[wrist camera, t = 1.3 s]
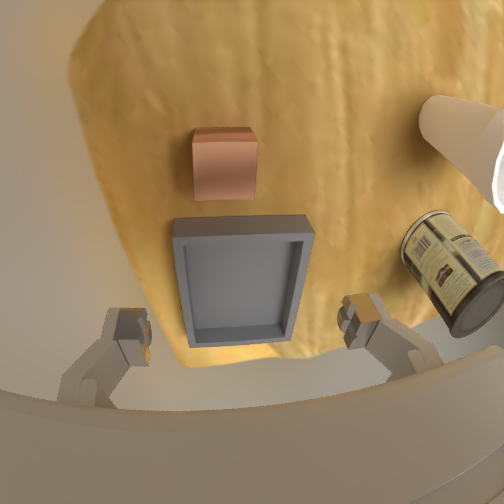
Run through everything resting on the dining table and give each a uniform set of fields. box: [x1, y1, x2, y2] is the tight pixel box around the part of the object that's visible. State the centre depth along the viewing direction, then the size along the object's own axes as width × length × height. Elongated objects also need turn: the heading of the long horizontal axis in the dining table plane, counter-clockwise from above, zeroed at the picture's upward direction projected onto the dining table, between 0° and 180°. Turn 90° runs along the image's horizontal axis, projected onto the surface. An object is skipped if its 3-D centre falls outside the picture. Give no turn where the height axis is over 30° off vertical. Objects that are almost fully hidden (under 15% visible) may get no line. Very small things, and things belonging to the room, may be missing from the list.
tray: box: [171, 215, 315, 348], centre depth 35 cm, size 18×14×4 cm
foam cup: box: [419, 95, 504, 213], centre depth 21 cm, size 10×9×13 cm
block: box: [192, 127, 258, 201], centre depth 25 cm, size 5×5×5 cm
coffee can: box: [401, 210, 504, 338], centre depth 32 cm, size 10×10×14 cm
